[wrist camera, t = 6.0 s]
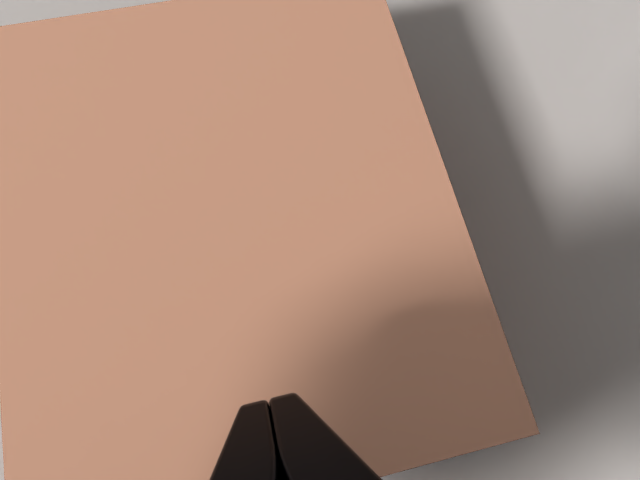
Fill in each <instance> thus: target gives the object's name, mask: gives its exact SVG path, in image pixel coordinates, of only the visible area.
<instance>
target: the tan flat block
mask: <svg viewBox="0 0 640 480" xmlns="http://www.w3.org/2000/svg"><path fill="white" fill-rule="evenodd" d="M288 393H296V394H297V395H299V396H300V397H301V398H302V399H303V400H304V401H305V402H306V403H307V404H308V405H309V406H310V407H311V408H312V409H313V410H314V411H315V412H316V413H317V415H318V416H319V417H320V418H321V419H322V420H323V421H324V422H325V423H326V424H327V425H328V426H329V427H330V428H331V429H332V430H333V431H334V432H335V433H336V434H337V435H338V436H339V437H340V438H341V439H342V440H343V441H344V442H345V443H346V444H347V445H348V446H349V447H350V448H351V449H352V450H353V451H354V452H355V453H356V454H357V455H358V456H359V457H360V458H361V459H362V460H363V461H364V462H365V463H366V464H367V465H368V466H369V467H370V468H371V469H372V470H373V471H374V472H375V473H376V474H377V475H378V476H379V477H383V476H386V475H390V474H394V473H397V472H401V471H405V470H408V469H412V468H416V467H419V466H423V465H427V464H430V463H434V462H438V461H441V460H445V459H449V458H452V457H456V456H460V455H463V454H467V453H471V452H474V451H478V450H482V449H485V448H489V447H493V446H496V445H500V444H504V443H507V442H511V441H515V440H518V439H522V438H526V437H529V436H533V435H537V434H540V433H539V430H538V427H537V424H536V422H535V419H534V416H533V413H532V410H531V407H530V405H529V402H528V399H527V396H526V393H525V391H524V388H523V385H522V382H521V379H520V377H519V374H518V371H517V368H516V365H515V362H514V360H513V357H512V354H511V351H510V348H509V346H508V343H507V340H506V337H505V334H504V331H503V329H502V326H501V323H500V320H499V317H498V315H497V312H496V309H495V306H494V303H493V301H492V298H491V295H490V292H489V289H488V286H487V284H486V281H485V278H484V275H483V272H482V270H481V267H480V264H479V261H478V258H477V256H476V253H475V250H474V247H473V244H472V241H471V239H470V236H469V233H468V230H467V227H466V225H465V222H464V219H463V216H462V213H461V211H460V208H459V205H458V202H457V199H456V196H455V194H454V191H453V188H452V185H451V182H450V180H449V177H448V174H447V171H446V168H445V166H444V163H443V160H442V157H441V154H440V151H439V149H438V146H437V143H436V140H435V137H434V135H433V132H432V129H431V126H430V123H429V120H428V118H427V115H426V112H425V109H424V106H423V104H422V101H421V98H420V95H419V92H418V90H417V87H416V84H415V81H414V78H413V75H412V73H411V70H410V67H409V64H408V61H407V59H406V56H405V53H404V50H403V47H402V45H401V42H400V39H399V36H398V33H397V30H396V28H395V25H394V22H393V19H392V16H391V14H390V11H389V8H388V5H387V2H386V0H171V1H165V2H158V3H151V4H145V5H138V6H132V7H125V8H118V9H112V10H105V11H99V12H92V13H85V14H79V15H72V16H65V17H59V18H52V19H46V20H39V21H32V22H26V23H19V24H12V25H6V26H0V404H1V423H2V442H3V460H4V479H5V480H209V479H210V477H211V474H212V472H213V470H214V467H215V465H216V463H217V460H218V458H219V455H220V453H221V451H222V448H223V446H224V443H225V441H226V439H227V436H228V434H229V431H230V429H231V427H232V424H233V422H234V419H235V417H236V415H237V412H238V410H239V408H240V407H241V406H242V405H244V404H248V403H252V402H256V401H260V400H266V401H267V402H268V403H269V401H270V399H271V398H273V397H276V396H280V395H284V394H288Z"/></svg>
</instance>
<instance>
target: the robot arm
mask: <svg viewBox="0 0 640 480" xmlns="http://www.w3.org/2000/svg"><path fill="white" fill-rule="evenodd" d="M209 480H382V479H381V478H380V477H379V476H378V475H377V474H376V473H375V472H374V471H373V470H372V469H371V468H370V467H369V466H368V465H367V464H366V463H365V462H364V461H363V460H362V459H361V458H360V457H359V456H358V455H357V454H356V453H355V452H354V451H353V450H352V449H351V448H350V447H349V446H348V445H347V444H346V443H345V442H344V441H343V440H342V439H341V438H340V437H339V436H338V435H337V434H336V433H335V432H334V431H333V430H332V429H331V428H330V427H329V426H328V425H327V424H326V423H325V422H324V421H323V420H322V419H321V418H320V417H319V416H318V415H317V413H316V412H315V411H314V410H313V409H312V408H311V407H310V406H309V405H308V404H307V403H306V402H305V401H304V400H303V399H302V398H301V397H300V396H299V395H297V394H296V393H288V394H284V395H280V396H276V397H273V398H271V399H270V401H269V403H268V402H267V401H266V400H260V401H256V402H252V403H248V404H244V405H242V406H241V407H240V408H239V410H238V412H237V415H236V417H235V419H234V422H233V424H232V427H231V429H230V431H229V434H228V436H227V439H226V441H225V443H224V446H223V448H222V451H221V453H220V455H219V458H218V460H217V463H216V465H215V467H214V470H213V472H212V474H211V477H210V479H209Z"/></svg>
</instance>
